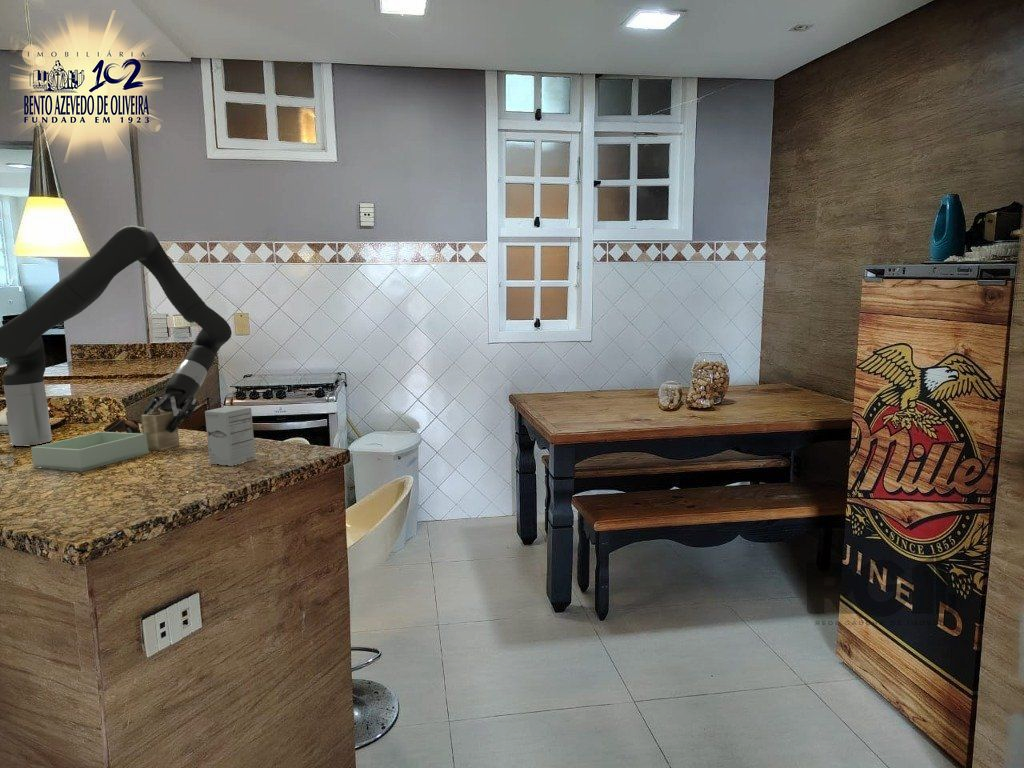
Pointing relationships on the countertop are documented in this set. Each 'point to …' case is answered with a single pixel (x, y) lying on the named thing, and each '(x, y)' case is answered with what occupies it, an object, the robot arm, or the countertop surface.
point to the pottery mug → (123, 426)
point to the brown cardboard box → (159, 430)
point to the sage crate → (89, 451)
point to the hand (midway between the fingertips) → (156, 430)
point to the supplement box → (230, 435)
